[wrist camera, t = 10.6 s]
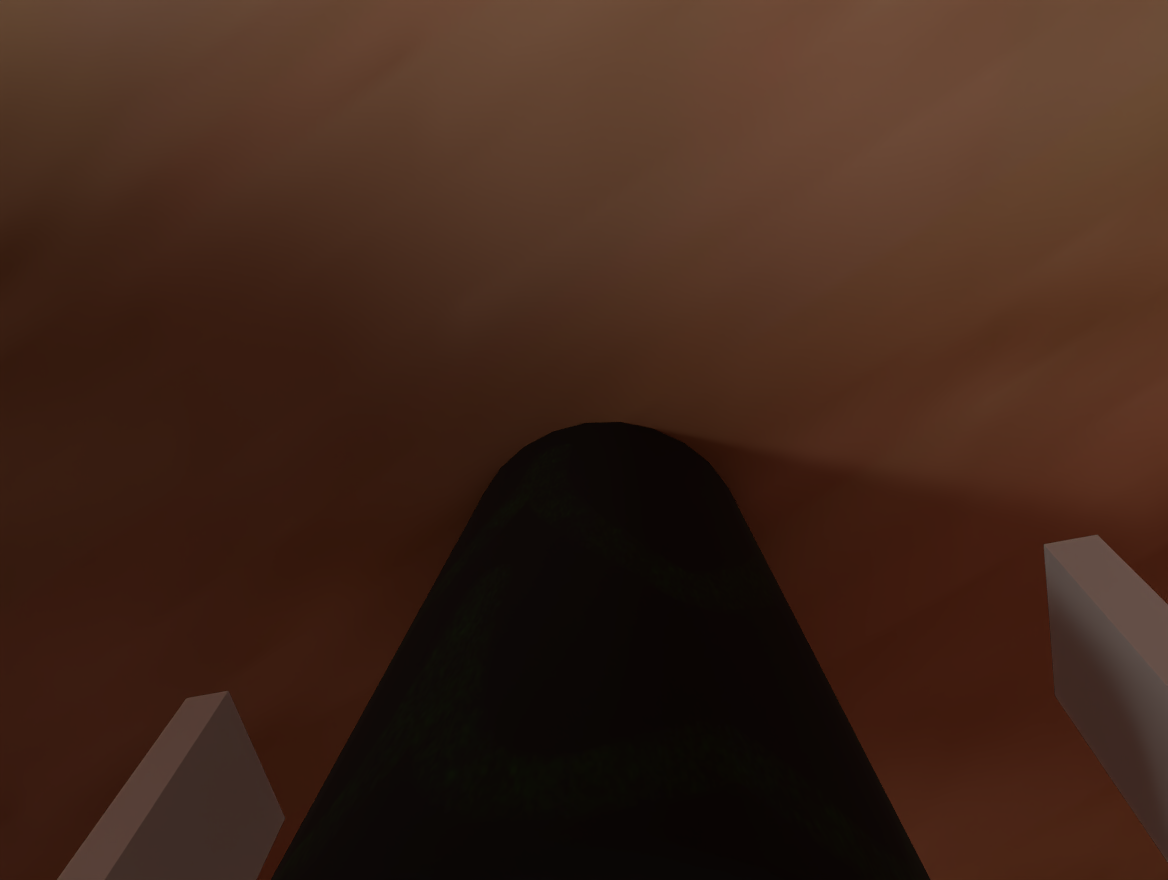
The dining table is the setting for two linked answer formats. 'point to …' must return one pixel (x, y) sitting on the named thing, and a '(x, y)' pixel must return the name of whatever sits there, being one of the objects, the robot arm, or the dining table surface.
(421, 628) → the cup
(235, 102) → the dining table surface
